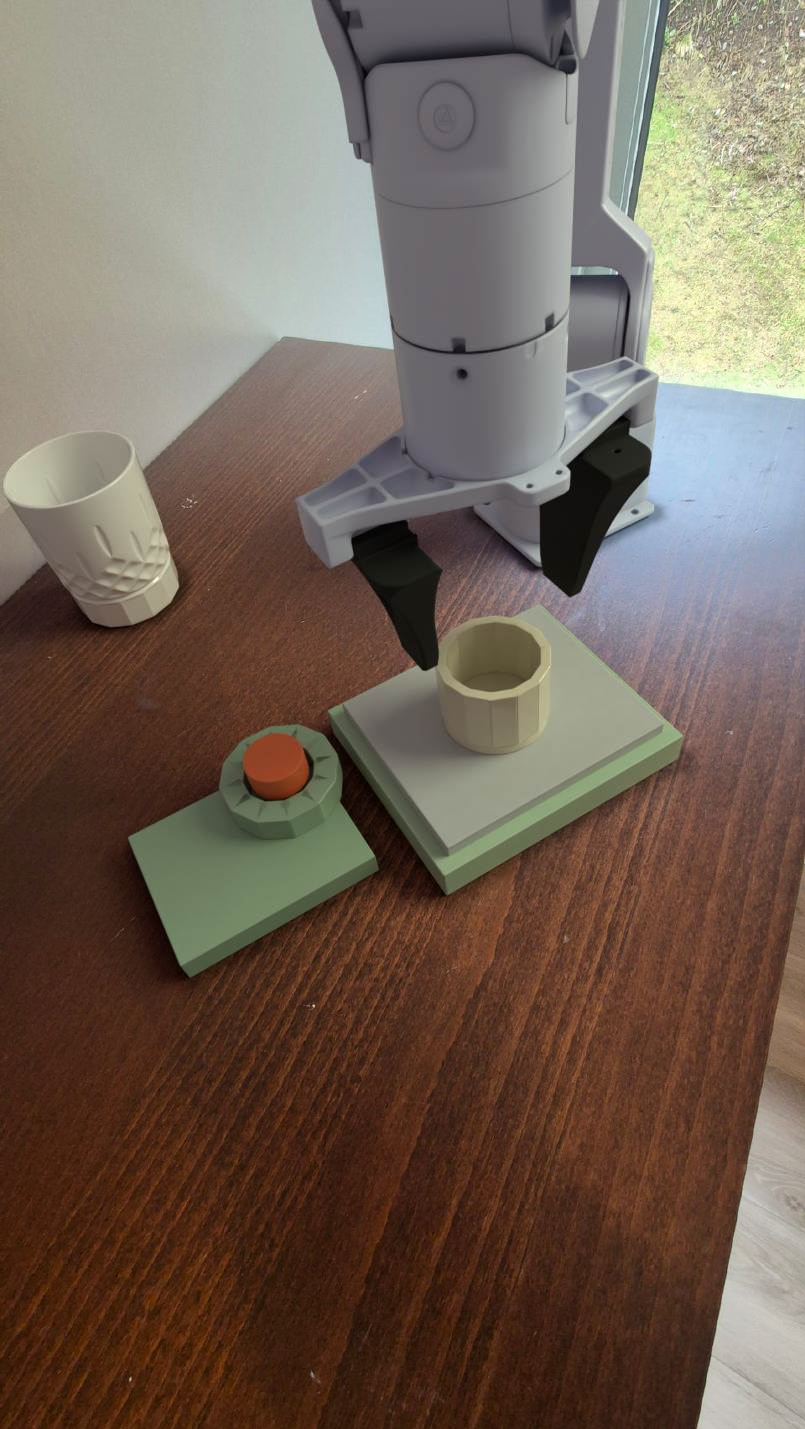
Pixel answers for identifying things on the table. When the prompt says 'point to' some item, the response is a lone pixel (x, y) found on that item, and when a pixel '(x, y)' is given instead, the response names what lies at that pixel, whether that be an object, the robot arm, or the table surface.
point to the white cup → (95, 524)
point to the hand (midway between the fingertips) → (492, 618)
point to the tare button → (276, 766)
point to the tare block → (251, 856)
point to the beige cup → (494, 684)
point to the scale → (502, 759)
